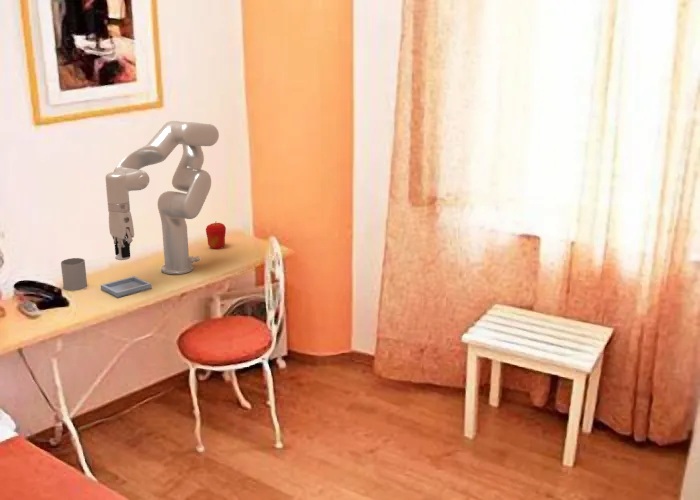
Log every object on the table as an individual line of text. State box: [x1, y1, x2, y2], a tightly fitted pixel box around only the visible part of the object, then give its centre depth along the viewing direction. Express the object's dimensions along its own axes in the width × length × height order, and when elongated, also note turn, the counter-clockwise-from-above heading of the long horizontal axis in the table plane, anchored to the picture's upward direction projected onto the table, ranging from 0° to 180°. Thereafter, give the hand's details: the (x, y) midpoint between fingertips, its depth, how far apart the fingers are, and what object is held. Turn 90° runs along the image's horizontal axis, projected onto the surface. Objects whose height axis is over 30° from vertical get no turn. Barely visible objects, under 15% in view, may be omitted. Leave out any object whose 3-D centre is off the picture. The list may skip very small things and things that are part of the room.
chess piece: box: [115, 237, 131, 261], centre depth 295 cm, size 5×5×9 cm
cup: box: [60, 257, 88, 292], centre depth 302 cm, size 8×8×10 cm
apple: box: [205, 221, 227, 250], centre depth 349 cm, size 9×8×12 cm
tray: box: [100, 276, 153, 299], centre depth 300 cm, size 14×12×2 cm
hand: (122, 255), depth 296 cm, fingers closed on chess piece, 3 cm apart
